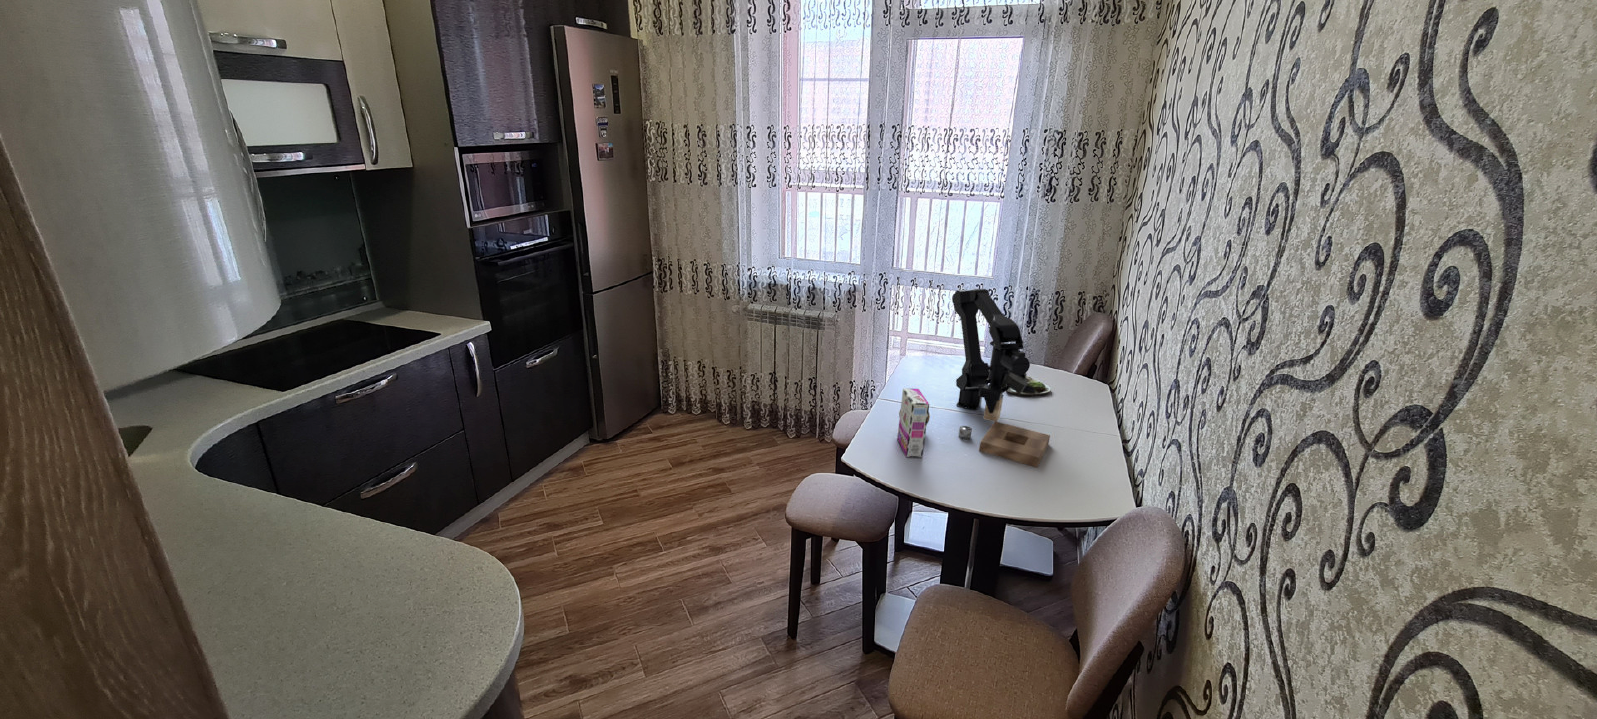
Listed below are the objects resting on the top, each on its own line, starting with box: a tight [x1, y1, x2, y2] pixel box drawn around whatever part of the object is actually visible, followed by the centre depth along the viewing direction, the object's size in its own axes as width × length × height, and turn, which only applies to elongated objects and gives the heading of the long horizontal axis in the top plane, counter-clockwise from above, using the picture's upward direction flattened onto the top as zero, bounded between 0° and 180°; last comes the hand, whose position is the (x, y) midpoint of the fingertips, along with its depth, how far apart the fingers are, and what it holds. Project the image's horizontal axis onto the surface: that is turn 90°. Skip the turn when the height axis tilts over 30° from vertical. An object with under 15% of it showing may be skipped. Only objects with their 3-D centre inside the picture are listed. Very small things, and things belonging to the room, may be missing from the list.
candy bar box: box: [897, 388, 930, 459], centre depth 172 cm, size 11×5×16 cm, turn 5°
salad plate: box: [1006, 375, 1052, 398], centre depth 222 cm, size 19×18×5 cm
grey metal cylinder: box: [957, 425, 973, 441], centre depth 182 cm, size 4×4×3 cm
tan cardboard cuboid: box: [983, 396, 1004, 422], centre depth 190 cm, size 4×4×7 cm
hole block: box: [978, 421, 1051, 468], centre depth 177 cm, size 16×16×3 cm
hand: (992, 410), depth 191 cm, fingers closed on tan cardboard cuboid, 4 cm apart
